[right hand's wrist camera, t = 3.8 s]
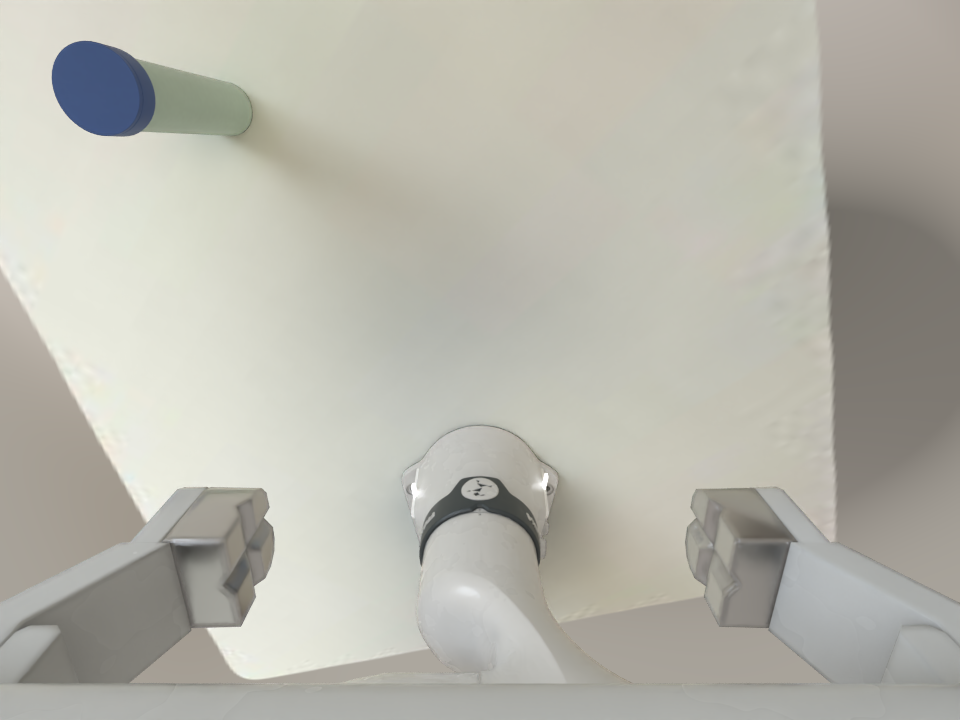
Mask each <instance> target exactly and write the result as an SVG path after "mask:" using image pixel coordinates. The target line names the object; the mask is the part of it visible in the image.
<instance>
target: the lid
mask: <svg viewBox="0 0 960 720" xmlns="http://www.w3.org/2000/svg"><path fill="white" fill-rule="evenodd" d="M52 84H53V89H54V93H55V96H56V98H57V101H58V103H59V104H60V106H61V108H62V109H63V111H64V112H65V114H66V115H67V116H68V117H69V118H70V119H71V120H72V121H73V122H74V123H75V124H77V125H78V126H79V127H81V128H83V129H84V130H86V131H88V132H90V133H93V134H96V135H101V136H131V135H135V134H137V133H139V132H141V131H142V130H143V129H145V128H146V127H147V125H148V124H149V123H150V121H151V120H152V117H153V115H154V111H155V104H156V101H155V92H154V88H153V85H152V82H151V80H150V78H149V76H148V74H147V72H146V71H145V69H144V68H143V67H142V66H141V64H140V63H139V62H138V61H137V60H136V59H135V58H133V57H132V56H131V55H129V54H128V53H126V52H124V51H122V50H120V49H118V48H115V47H111V46H108V45H104V44H100V43H97V42H92V41H79V42H75V43H72V44H70V45H68V46H67V47H65V48H64V49H63V50H62V51H61V52H60V53H59V54H58V56H57V58H56V60H55V62H54V65H53V70H52Z"/></svg>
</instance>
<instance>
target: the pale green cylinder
mask: <svg viewBox="0 0 960 720" xmlns="http://www.w3.org/2000/svg"><path fill="white" fill-rule="evenodd" d="M136 60H137V61H138V62H139V63H140V64H141V66H142V67H143V68H144V69H145V71H146V72H147V74H148V76H149V78H150V80H151V82H152V85H153V88H154V92H155V101H156V104H155V111H154V115H153V117H152V120H151V121H150V123H149V124H148V125H147V127H146V128H145V129H143V130H142V131H141V132H161V133H183V134H205V135H227V136H235V135H239V134H241V133H243V132H244V131H245V130H246V129H247V128H248V127H249V125H250V123H251V120H252V107H251V103H250V101H249V99H248V97H247V95H246V94H245V93H244V92H243V91H242V90H241V89H240V88H239V87H237V86H236V85H234V84H231V83H228V82H224V81H220V80H216V79H212V78H208V77H204V76H200V75H197V74H193V73H189V72H185V71H181V70H177V69H173V68H169V67H165V66H161V65H157V64H154V63H150V62H146V61H142V60H138V59H136Z"/></svg>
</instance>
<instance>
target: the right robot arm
mask: <svg viewBox="0 0 960 720" xmlns="http://www.w3.org/2000/svg"><path fill="white" fill-rule="evenodd" d="M402 485H403V489H404V492H405V495H406V499H407V502H408V506H409V509H410V512H411V517H412V519H413V523H414V526H415V529H416V533H417V536H418V540H419V547H420V563H421V567H422V568H421V575H420V583H419V590H418V597H417V605H416V617H417V623H418V627H419V630H420V632H421V635H422V637H423V638H424V640H425V642H426V643H427V645H428V647H429V648H430V649H431V651H432V652H433V653H434V655H435V656H436V657H437V658H438V659H439V660H440V661H441V662H442V663H443V664H444V665H445V666H447V667H448V668H450V669H452V670H453V671H455V672H456V673H383V674H378V675H373V676H368V677H363V678H358V679H354V680H350V681H346V682H342V683H305V684H303V683H298V684H297V683H292V684H291V683H289V684H287V683H285V684H283V683H282V684H281V683H280V684H279V683H276V684H157V683H130V682H131V681H132V680H133V679H134V678H136V677H137V676H138V675H139V674H140V673H142V672H143V671H144V670H145V669H146V668H148V667H149V666H150V665H151V664H152V663H153V662H155V661H156V660H157V659H158V658H159V657H161V656H162V655H163V654H164V653H165V652H167V651H168V650H169V649H170V648H171V647H173V646H174V645H175V644H176V643H177V642H179V641H180V640H181V639H182V638H183V637H185V636H186V635H187V634H188V633H189V632H190V631H191V628H209V627H241V625H242V623H243V621H244V619H245V617H246V615H247V614H248V612H249V610H250V608H251V606H252V604H253V602H254V600H255V598H256V595H255V589H254V586H255V585H256V584H258V583H259V582H261V581H262V580H263V579H265V578H266V575H267V573H268V571H269V569H270V567H271V563H272V559H273V554H274V532H273V527H272V526H271V525H270V524H269V523H268V522H267V521H266V520H265V519H264V516H265V514H266V513H267V511H268V509H269V503H268V498H267V493H266V492H265V491H264V490H263V489H262V488H225V487H210V488H208V487H184V488H180V489H177V490H176V491H175V493H174V494H173V495H172V496H171V497H170V498H169V499H168V500H167V502H166V503H165V504H164V505H163V506H162V507H161V508H160V509H159V510H158V512H157V513H156V514H155V515H154V516H153V517H152V518H151V519H150V521H149V522H148V523H147V524H146V525H145V526H144V527H143V528H142V529H141V531H140V532H139V533H138V534H137V535H136V536H135V537H134V538H133V540H132V541H131V542H125V543H119V544H117V545H115V546H113V547H111V548H109V549H107V550H105V551H103V552H101V553H99V554H97V555H95V556H93V557H91V558H89V559H87V560H85V561H83V562H81V563H79V564H77V565H75V566H73V567H71V568H69V569H67V570H65V571H63V572H61V573H59V574H57V575H55V576H53V577H51V578H49V579H47V580H45V581H43V582H41V583H39V584H37V585H35V586H33V587H31V588H29V589H27V590H25V591H23V592H21V593H19V594H17V595H15V596H13V597H11V598H9V599H7V600H5V601H3V602H1V603H0V720H960V603H959V602H957V601H955V600H953V599H951V598H949V597H947V596H945V595H943V594H941V593H939V592H937V591H935V590H933V589H931V588H929V587H927V586H925V585H923V584H921V583H919V582H917V581H915V580H913V579H911V578H909V577H907V576H905V575H903V574H901V573H899V572H897V571H895V570H893V569H891V568H889V567H887V566H885V565H883V564H881V563H879V562H877V561H875V560H873V559H871V558H869V557H867V556H865V555H863V554H861V553H859V552H857V551H855V550H853V549H851V548H849V547H847V546H845V545H843V544H841V543H835V542H829V541H828V540H827V538H826V537H825V536H824V535H823V534H822V533H821V532H820V531H819V529H818V528H817V527H816V526H815V525H814V524H813V523H812V522H811V521H810V519H809V518H808V517H807V516H806V515H805V514H804V513H803V512H802V510H801V509H800V508H799V507H798V506H797V505H796V504H795V503H794V502H793V500H792V499H791V498H790V497H789V496H788V495H787V494H786V493H785V491H784V490H782V489H780V488H778V487H753V488H727V489H696V490H695V492H694V494H693V497H692V502H691V509H692V511H693V513H694V514H695V516H696V519H695V520H694V521H693V522H692V523H691V524H690V525H689V526H688V527H687V533H686V541H685V544H686V555H687V560H688V563H689V567H690V569H691V571H692V573H693V575H694V578H695V579H697V580H698V581H699V582H701V583H702V584H704V585H705V586H706V589H705V595H704V598H705V600H706V602H707V604H708V606H709V608H710V610H711V611H712V613H713V615H714V617H715V619H716V621H717V623H718V625H719V626H720V627H750V628H769V631H770V632H771V633H772V634H773V635H775V636H776V637H777V638H778V639H779V640H781V641H782V642H783V643H784V644H785V645H786V646H788V647H789V648H790V649H791V650H792V651H794V652H795V653H796V654H797V655H798V656H800V657H801V658H802V659H803V660H804V661H806V662H807V663H808V664H809V665H810V666H812V667H813V668H814V669H815V670H816V671H818V672H819V673H820V674H821V675H822V676H823V677H825V678H826V679H827V680H828V681H829V682H831V683H832V684H633V683H631V682H629V681H627V680H625V679H623V678H621V677H619V676H618V675H616V674H614V673H613V672H611V671H609V670H608V669H606V668H604V667H603V666H602V665H600V664H599V663H598V662H596V661H595V660H593V659H592V658H591V657H590V656H589V655H588V654H586V653H585V652H584V651H583V650H582V649H581V648H580V647H579V646H578V645H577V644H576V643H575V642H573V641H572V639H571V638H570V637H569V636H568V635H567V634H566V633H565V632H564V631H563V629H562V628H561V627H560V625H559V624H558V623H557V621H556V620H555V618H554V617H553V615H552V613H551V611H550V610H549V607H548V605H547V602H546V598H545V595H544V591H543V587H542V583H541V578H540V573H539V563H540V559H544V558H545V555H546V540H545V539H543V538H542V536H543V535H547V534H548V531H549V523H548V522H547V519H548V517H549V512H550V509H551V506H552V502H553V499H554V495H555V492H556V489H557V485H558V474H557V472H556V471H555V470H554V469H552V468H551V467H549V466H548V465H546V464H544V463H543V462H541V461H539V460H538V459H537V457H536V456H535V455H534V453H533V452H532V451H531V449H530V448H529V447H528V445H527V444H526V443H525V442H523V441H522V440H521V439H520V438H518V437H517V436H515V435H514V434H512V433H510V432H508V431H506V430H503V429H500V428H496V427H491V426H469V427H464V428H460V429H457V430H454V431H452V432H450V433H448V434H446V435H445V436H443V437H442V438H440V439H439V440H438V441H437V442H435V443H434V444H433V446H432V447H431V448H430V449H429V451H428V452H427V453H426V455H425V456H424V457H423V459H422V460H421V461H419V462H417V463H416V464H414V465H412V466H411V467H409V468H408V469H406V470H405V471H404V472H403V474H402ZM411 486H412V487H411ZM546 486H549V487H548V488H546Z"/></svg>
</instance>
